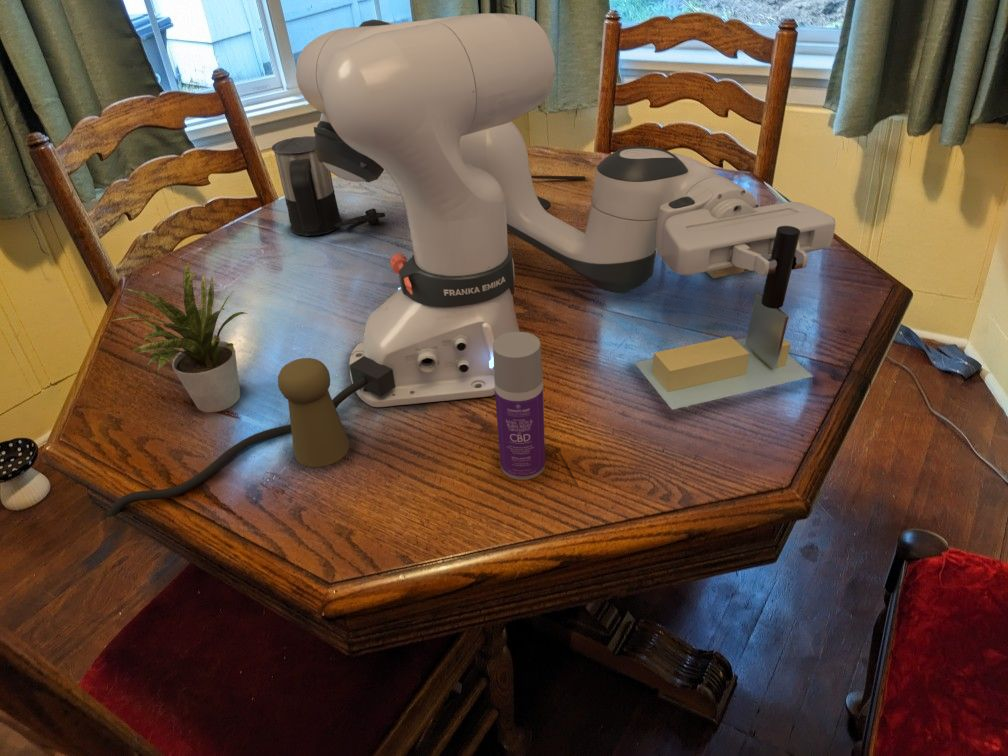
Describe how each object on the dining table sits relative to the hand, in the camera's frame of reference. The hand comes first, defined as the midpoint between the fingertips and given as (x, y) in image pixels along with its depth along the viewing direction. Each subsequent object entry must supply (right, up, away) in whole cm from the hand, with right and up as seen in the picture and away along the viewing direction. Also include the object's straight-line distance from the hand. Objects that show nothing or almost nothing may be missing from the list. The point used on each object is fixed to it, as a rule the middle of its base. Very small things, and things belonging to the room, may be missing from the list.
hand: (785, 266), depth 79 cm
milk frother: (-60, +15, +51) cm, 80 cm away
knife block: (+4, +6, +32) cm, 32 cm away
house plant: (-66, -14, +10) cm, 69 cm away
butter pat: (+1, -10, +8) cm, 13 cm away
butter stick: (-8, -12, +6) cm, 16 cm away
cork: (-51, -20, +1) cm, 55 cm away
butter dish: (-5, -12, +8) cm, 15 cm away
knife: (0, -10, +8) cm, 12 cm away
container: (-29, -21, -3) cm, 36 cm away
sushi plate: (-30, +23, +59) cm, 71 cm away
